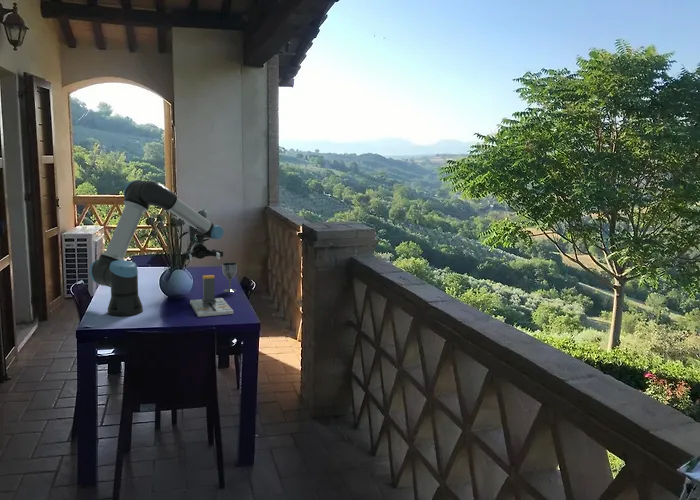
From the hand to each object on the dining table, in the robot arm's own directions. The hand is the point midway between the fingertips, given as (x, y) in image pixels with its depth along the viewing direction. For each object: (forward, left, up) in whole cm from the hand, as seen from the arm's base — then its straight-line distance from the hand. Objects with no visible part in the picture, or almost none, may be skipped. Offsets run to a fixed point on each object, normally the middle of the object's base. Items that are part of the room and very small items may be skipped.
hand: (205, 257), depth 283 cm
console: (0, -14, -22) cm, 26 cm away
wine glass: (+16, +20, -23) cm, 34 cm away
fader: (0, -9, -20) cm, 22 cm away
